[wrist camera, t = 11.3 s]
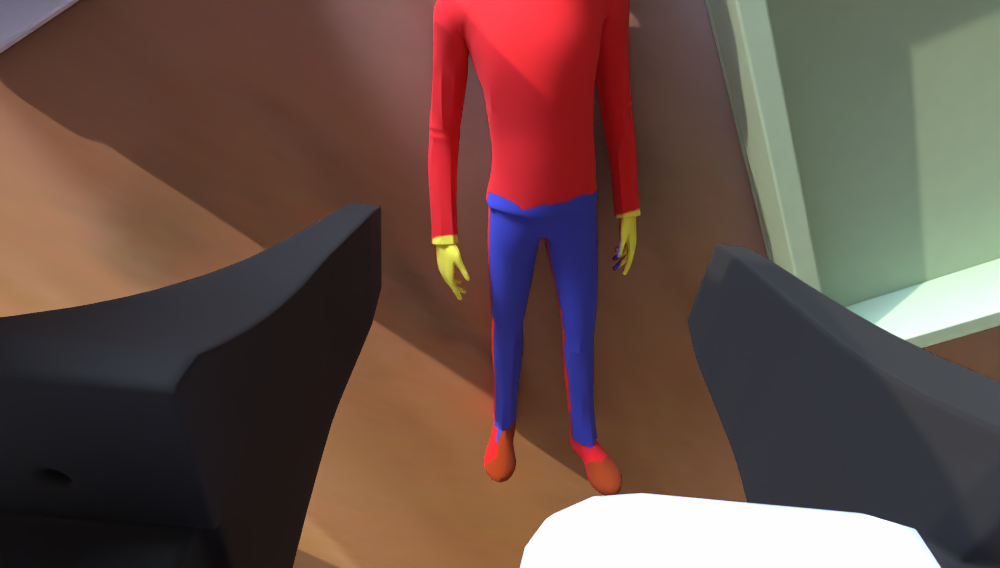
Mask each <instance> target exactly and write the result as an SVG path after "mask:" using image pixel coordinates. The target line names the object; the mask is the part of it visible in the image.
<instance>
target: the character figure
mask: <svg viewBox="0 0 1000 568" xmlns="http://www.w3.org/2000/svg"><path fill="white" fill-rule="evenodd" d="M629 6H630V0H437V1H436V3H435V6H434V11H433V82H432V102H431V112H430V122H429V130H430V131H429V149H428V179H429V193H430V208H431V226H432V244H434V245H436V258H437V264H438V269H439V271H440V272H441V275H442V277H443V279H444V280H445V282H446V283H447V284H448V285H449V286H450V287H451V288H452V290H453V292H454V294H455V295H456V297H457V298H458V299H459V300H462V296H461V294H460V293H463V294H465V293H466V291H465V289H463V288H461V287H460V286H458V285H456V283H457V284H461V283H462V282H461V281H460V280H459V279H457V278H455V277H454V276H455V273H454V272H455V267H456V266H457V267H458V269H459V270H460V272H461V273H462V275H463V277H464V278H465V280H467V281H469V280H470V277H469V274H468V272H467V270H466V268H465V266H464V264H463V261H462V258H461V254H460V252H459V249H458V247H457V246H456V244H458V230H457V205H456V195H457V165H458V150H459V138H460V124H461V117H462V110H463V103H464V97H465V90H466V83H467V73H468V56H469V53H470V55H471V58H472V61H473V64H474V67H475V70H476V73H477V76H478V78H479V81H480V84H481V86H482V89H483V93H484V97H485V103H486V110H487V116H488V123H489V130H490V137H491V144H492V166H491V175H490V180H489V184H488V187H487V193H486V199H485V200H486V202H487V204H488V206H489V210H488V237H487V248H488V271H489V285H490V301H491V314H492V335H491V346H492V360H493V372H494V413H493V428H492V433H491V437H490V440H489V443H488V446H487V449H486V452H485V457H484V466H485V470H486V472H487V474H488V476H489V477H490V478H491V479H492V480H494V481H497V482H503V481H507V480H508V479H509V478H510V477H511V476H512V474H513V472H514V470H515V466H516V458H515V453H514V446H513V437H514V432H515V426H516V408H517V395H518V388H519V380H520V371H521V363H522V354H523V319H524V315H525V310H526V306H527V301H528V296H529V291H530V286H531V281H532V277H533V271H534V265H535V259H536V254H537V249H538V243H539V240H540V239H541V238H544V240H545V245H546V249H547V254H548V258H549V262H550V266H551V271H552V275H553V279H554V284H555V289H556V296H557V301H558V306H559V311H560V318H561V325H562V329H563V344H562V355H563V367H564V377H565V385H566V394H567V404H568V413H569V427H570V445H571V447H572V448H573V450H574V451H575V452H576V453H577V455H578V456H579V457H580V458H581V459H582V461H583V462H584V465H585V468H586V472H587V476H588V479H589V482H590V484H591V485H592V487H593V488H594V489H596V490H597V491H598V492H599V493H601V494H603V495H605V496H607V495H616V494H618V493H619V492H620V489H621V485H622V475H621V473H620V470H619V469H618V467H617V466H616V465H615V463H614V462H613V461H612V460H611V459H610V458H609V456H608V455H607V454H606V452H605V451H604V450H603V448H602V447H601V446H600V444H599V443H598V442H597V440H596V439H597V434H596V426H595V415H594V397H593V384H594V330H595V320H596V309H597V289H598V252H597V247H598V239H597V213H596V199H597V198H598V193H597V187H596V171H595V145H594V128H593V117H594V87H595V79H596V83H597V90H598V96H599V103H600V110H601V115H602V121H603V126H604V132H605V138H606V144H607V149H608V156H609V163H610V170H611V177H612V189H613V201H614V215H615V218H620V223H619V233H620V238H619V244H618V246H617V247H616V248H615V251H617V253H616V255H615V256H614V257H613V258H612V260H614V261H615V260H617V259H618V258H620V257H622V256H623V255H624V254H625V253H626V254H625V256H624V257H623V258H622V259H621V260H620V261H619V262H618V263H617V264H616V265H615V266H614V267H613V270H614V271H615V270H617V269H618V268H620V267H621V266H622V265H624V264H625V263H626V264H625V267H624V270H623V274H624V275H626V274H627V273H628V271H629V268H630V266H631V263H632V260H633V256H634V252H635V247H636V216H639V215H641V214H640V205H639V194H638V177H637V157H636V141H635V130H634V122H633V115H632V105H631V101H632V97H631V93H630V71H629ZM624 245H625V246H624Z"/></svg>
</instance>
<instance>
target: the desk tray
mask: <svg viewBox="0 0 1000 568" xmlns="http://www.w3.org/2000/svg"><path fill="white" fill-rule="evenodd" d="M705 2H706V6H707V10H708V14H709V18H710V22H711V26H712V30H713V35H714V39H715V43H716V47H717V51H718V55H719V59H720V63H721V67H722V72H723V76H724V80H725V84H726V88H727V92H728V96H729V100H730V104H731V109H732V113H733V117H734V121H735V125H736V129H737V133H738V137H739V141H740V146H741V150H742V154H743V158H744V162H745V166H746V170H747V174H748V178H749V183H750V187H751V191H752V195H753V199H754V203H755V207H756V211H757V215H758V220H759V224H760V228H761V232H762V236H763V240H764V244H765V248H766V252H767V257H768V260H770V261H772V262H773V263H775V264H777V265H778V266H780V267H781V268H783V269H785V270H786V271H788V272H789V273H791V274H792V275H794V276H796V277H797V278H799V279H800V280H802V281H803V282H805V283H806V284H808V285H810V286H811V287H813V288H814V289H816V290H818V291H819V292H821V293H822V294H824V295H825V296H827V297H829V298H830V299H832V300H834V301H835V302H837V303H839V304H840V305H842V306H843V307H845V308H847V309H849V310H850V311H852V312H854V313H856V314H857V315H859V316H861V317H862V318H864V319H866V320H868V321H869V322H871V323H873V324H875V325H877V326H878V327H880V328H882V329H884V330H886V331H888V332H890V333H892V334H894V335H896V336H898V337H900V338H902V339H904V340H906V341H908V342H910V343H912V344H914V345H916V346H918V347H920V348H925V347H928V346H932V345H935V344H939V343H942V342H946V341H949V340H952V339H956V338H959V337H963V336H966V335H970V334H973V333H977V332H980V331H984V330H987V329H991V328H994V327H997V326H1000V0H705Z"/></svg>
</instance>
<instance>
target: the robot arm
mask: <svg viewBox="0 0 1000 568" xmlns="http://www.w3.org/2000/svg"><path fill="white" fill-rule="evenodd" d="M78 1H79V0H0V53H2V52H3V51H5V50H6V49H8V48H9V47H11V46H12V45H14V44H15V43H17V42H18V41H20V40H21V39H22V38H24V37H25V36H27V35H28V34H30V33H31V32H33V31H34V30H36V29H37V28H39V27H40V26H42V25H43V24H45V23H46V22H48V21H49V20H51V19H52V18H54V17H55V16H57V15H58V14H60V13H61V12H63V11H64V10H66V9H67V8H69V7H70V6H72V5H73V4H75V3H76V2H78ZM380 290H381V206H380V205H372V204H363V203H354V202H352V203H349V204H347V205H345V206H343V207H342V208H340V209H338V210H336V211H335V212H333V213H331V214H330V215H328V216H326V217H325V218H323V219H321V220H320V221H318V222H316V223H314V224H313V225H311V226H309V227H308V228H306V229H304V230H302V231H301V232H299V233H297V234H295V235H294V236H292V237H290V238H288V239H286V240H284V241H282V242H280V243H278V244H276V245H274V246H272V247H270V248H268V249H266V250H264V251H262V252H260V253H258V254H256V255H254V256H252V257H250V258H247V259H245V260H243V261H240V262H238V263H235V264H233V265H230V266H228V267H225V268H222V269H220V270H217V271H215V272H212V273H209V274H206V275H203V276H200V277H196V278H193V279H190V280H186V281H183V282H180V283H177V284H173V285H170V286H167V287H163V288H160V289H156V290H153V291H149V292H144V293H140V294H136V295H132V296H128V297H123V298H118V299H114V300H109V301H104V302H99V303H94V304H89V305H83V306H77V307H71V308H65V309H58V310H51V311H44V312H37V313H30V314H23V315H16V316H9V317H0V568H293V564H294V560H295V556H296V552H297V548H298V544H299V540H300V536H301V532H302V528H303V524H304V520H305V516H306V513H307V509H308V505H309V501H310V498H311V494H312V490H313V487H314V483H315V479H316V476H317V472H318V468H319V465H320V461H321V458H322V454H323V451H324V447H325V444H326V441H327V437H328V434H329V430H330V427H331V423H332V420H333V418H334V415H335V412H336V409H337V407H338V404H339V402H340V399H341V397H342V394H343V392H344V390H345V387H346V385H347V383H348V380H349V378H350V375H351V373H352V371H353V368H354V366H355V364H356V361H357V359H358V356H359V354H360V352H361V349H362V347H363V344H364V342H365V340H366V337H367V335H368V332H369V330H370V327H371V325H372V322H373V318H374V314H375V310H376V307H377V303H378V298H379V294H380ZM688 324H689V329H690V334H691V339H692V343H693V347H694V351H695V356H696V359H697V362H698V364H699V367H700V369H701V372H702V375H703V377H704V380H705V382H706V385H707V387H708V390H709V392H710V395H711V397H712V400H713V402H714V405H715V407H716V409H717V412H718V414H719V417H720V419H721V422H722V424H723V427H724V429H725V432H726V434H727V437H728V439H729V442H730V444H731V447H732V450H733V453H734V456H735V459H736V462H737V465H738V469H739V472H740V476H741V480H742V483H743V487H744V491H745V494H746V498H747V502H748V503H745V502H734V501H724V500H713V499H702V498H691V497H680V496H669V495H658V494H647V493H635V494H621V495H607V496H593V497H591V498H588V499H586V500H584V501H581V502H579V503H577V504H575V505H572V506H570V507H568V508H565V509H563V510H561V511H559V512H556V513H554V514H552V515H551V516H550V517H548V518H547V519H546V520H545V521H544V522H543V524H542V525H541V526H540V528H539V529H538V530H537V532H536V533H535V534H534V536H533V537H532V538H531V540H530V541H529V542H528V544H527V545H526V546H525V549H524V553H523V557H522V561H521V565H520V568H1000V382H999V381H997V380H994V379H992V378H989V377H987V376H984V375H982V374H979V373H977V372H975V371H972V370H970V369H967V368H965V367H963V366H960V365H958V364H955V363H953V362H950V361H948V360H946V359H944V358H942V357H939V356H937V355H935V354H933V353H930V352H928V351H926V350H924V349H922V348H920V347H918V346H916V345H914V344H912V343H910V342H908V341H906V340H904V339H902V338H900V337H898V336H896V335H894V334H892V333H890V332H888V331H886V330H884V329H882V328H880V327H878V326H877V325H875V324H873V323H871V322H869V321H868V320H866V319H864V318H862V317H861V316H859V315H857V314H856V313H854V312H852V311H850V310H849V309H847V308H845V307H843V306H842V305H840V304H839V303H837V302H835V301H834V300H832V299H830V298H829V297H827V296H825V295H824V294H822V293H821V292H819V291H818V290H816V289H814V288H813V287H811V286H810V285H808V284H806V283H805V282H803V281H802V280H800V279H799V278H797V277H796V276H794V275H792V274H791V273H789V272H788V271H786V270H785V269H783V268H781V267H780V266H778V265H777V264H775V263H773V262H772V261H770V260H768V259H767V258H765V257H763V256H762V255H760V254H758V253H756V252H754V251H752V250H750V249H748V248H745V247H740V246H731V245H722V244H716V247H715V249H714V252H713V254H712V257H711V260H710V262H709V265H708V267H707V270H706V273H705V275H704V278H703V281H702V283H701V286H700V288H699V291H698V294H697V296H696V299H695V301H694V304H693V307H692V309H691V312H690V314H689V317H688Z"/></svg>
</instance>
